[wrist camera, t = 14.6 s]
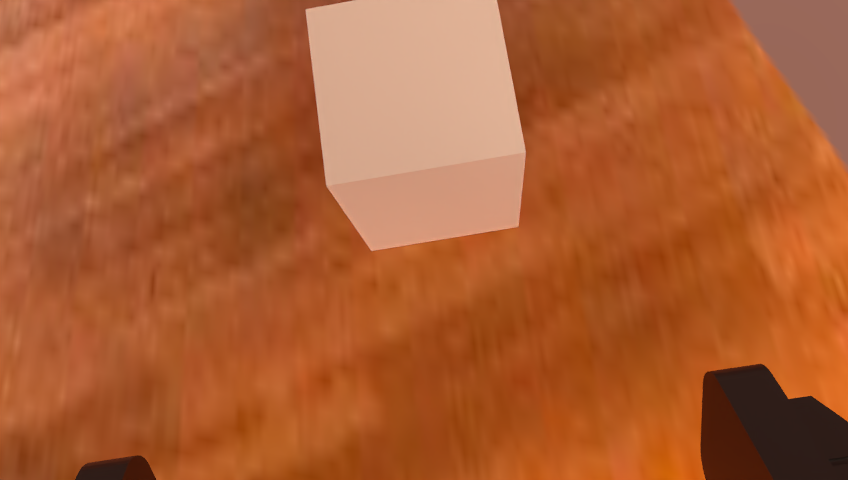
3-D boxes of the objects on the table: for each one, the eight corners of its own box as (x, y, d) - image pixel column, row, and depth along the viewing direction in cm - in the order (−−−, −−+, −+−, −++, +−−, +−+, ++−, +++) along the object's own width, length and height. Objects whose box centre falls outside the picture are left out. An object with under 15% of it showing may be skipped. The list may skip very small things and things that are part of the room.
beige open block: (371, 250, 33) (326, 186, 24) (353, 115, 35) (305, 9, 26) (518, 226, 33) (526, 152, 24) (493, 91, 34) (492, -25, 26)
